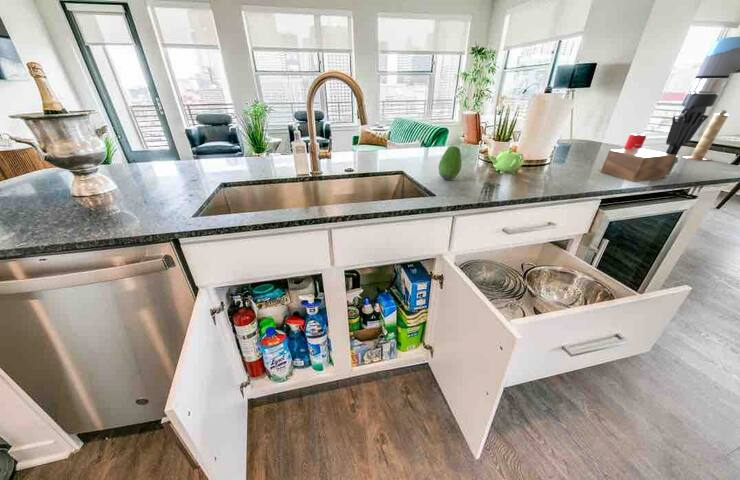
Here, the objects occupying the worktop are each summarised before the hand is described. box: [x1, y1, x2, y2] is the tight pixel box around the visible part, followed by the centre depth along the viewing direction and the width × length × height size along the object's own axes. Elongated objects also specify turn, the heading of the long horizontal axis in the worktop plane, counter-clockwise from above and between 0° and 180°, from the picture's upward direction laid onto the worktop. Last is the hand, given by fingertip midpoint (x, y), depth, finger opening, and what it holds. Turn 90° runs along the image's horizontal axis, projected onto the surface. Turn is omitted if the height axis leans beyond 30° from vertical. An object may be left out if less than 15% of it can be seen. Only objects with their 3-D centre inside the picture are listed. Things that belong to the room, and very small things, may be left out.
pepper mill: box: [690, 109, 730, 159], centre depth 118 cm, size 4×4×20 cm
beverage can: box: [623, 132, 647, 149], centre depth 115 cm, size 5×5×12 cm
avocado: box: [438, 145, 463, 181], centre depth 98 cm, size 8×8×12 cm
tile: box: [683, 155, 713, 162], centre depth 123 cm, size 7×7×1 cm
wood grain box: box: [600, 147, 678, 182], centre depth 101 cm, size 14×12×8 cm
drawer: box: [666, 156, 679, 176], centre depth 102 cm, size 18×11×7 cm, turn 103°
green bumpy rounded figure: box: [488, 149, 524, 175], centre depth 107 cm, size 11×12×8 cm
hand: (666, 163), depth 105 cm, fingers closed
